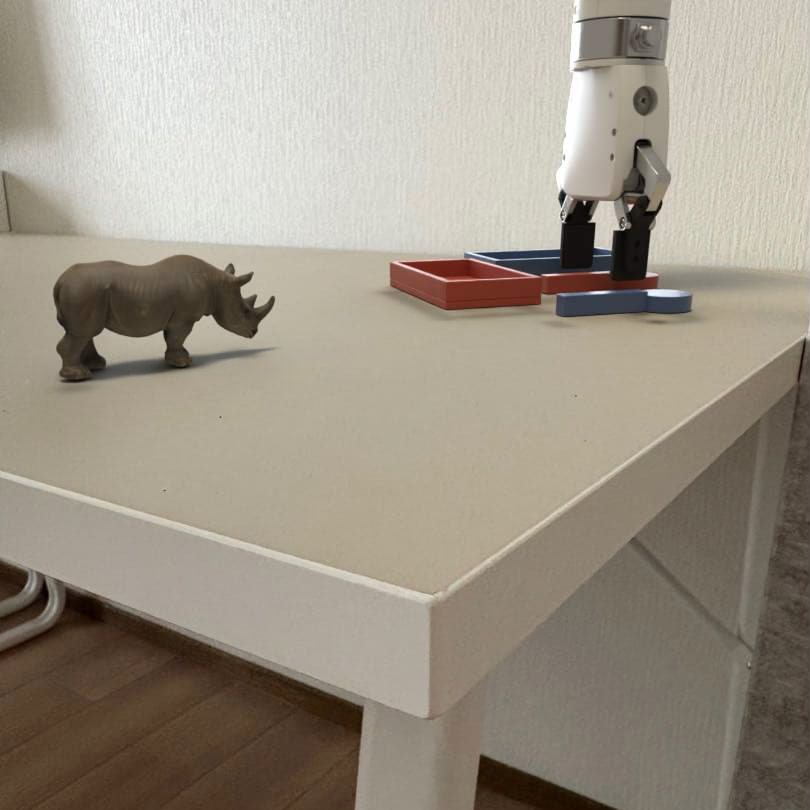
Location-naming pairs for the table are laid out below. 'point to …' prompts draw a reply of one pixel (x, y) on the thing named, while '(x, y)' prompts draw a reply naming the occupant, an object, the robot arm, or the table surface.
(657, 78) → the robot arm
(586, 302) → the blue spoon
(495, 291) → the red tray
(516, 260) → the blue tray
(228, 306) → the rhino figurine
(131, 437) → the table surface
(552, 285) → the red spoon
